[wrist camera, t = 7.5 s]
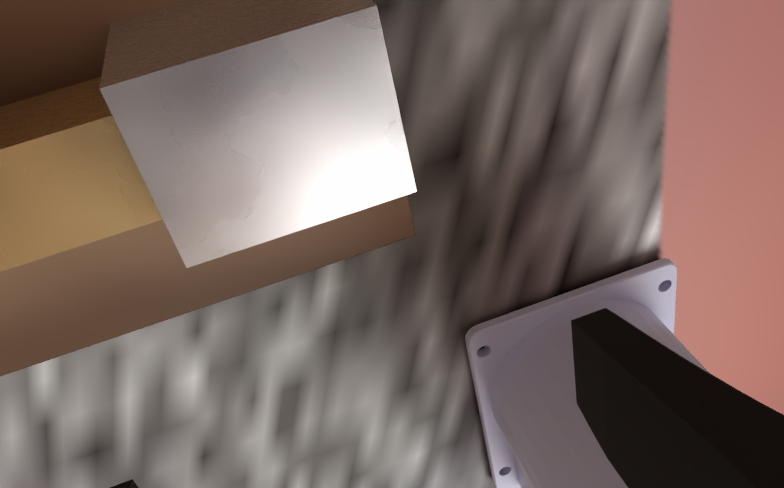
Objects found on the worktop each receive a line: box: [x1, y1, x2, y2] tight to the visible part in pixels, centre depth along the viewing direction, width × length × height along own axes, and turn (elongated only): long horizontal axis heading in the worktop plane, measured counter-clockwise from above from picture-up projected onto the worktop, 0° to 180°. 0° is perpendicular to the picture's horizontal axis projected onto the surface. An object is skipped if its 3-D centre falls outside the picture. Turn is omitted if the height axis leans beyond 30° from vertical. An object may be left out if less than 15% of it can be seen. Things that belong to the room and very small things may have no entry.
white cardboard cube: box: [99, 0, 417, 268], centre depth 15 cm, size 4×5×4 cm
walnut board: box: [0, 0, 416, 376], centre depth 17 cm, size 12×15×1 cm
